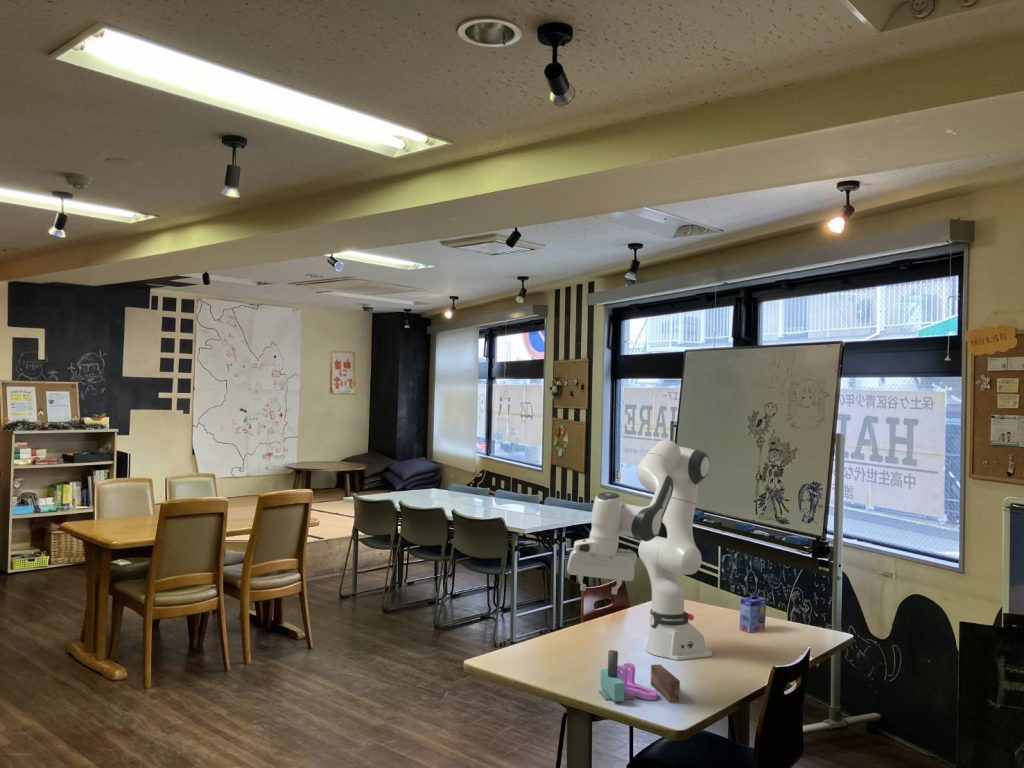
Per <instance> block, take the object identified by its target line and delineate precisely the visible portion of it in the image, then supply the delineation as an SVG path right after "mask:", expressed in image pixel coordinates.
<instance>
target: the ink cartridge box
mask: <svg viewBox="0 0 1024 768" xmlns="http://www.w3.org/2000/svg"><path fill="white" fill-rule="evenodd" d="M759 595H760V592H757V593H756V592H755V593H753V594H752V596H748V597H747V596H746V597H742V598H740V606H739V607H740V609H739V630H741V631H743V632H746V633H749V634H752V633H756V632H760V631H764V630H765V629H766V614H767V613H766V612H767V598H764V597H762V596H759Z"/></svg>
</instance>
